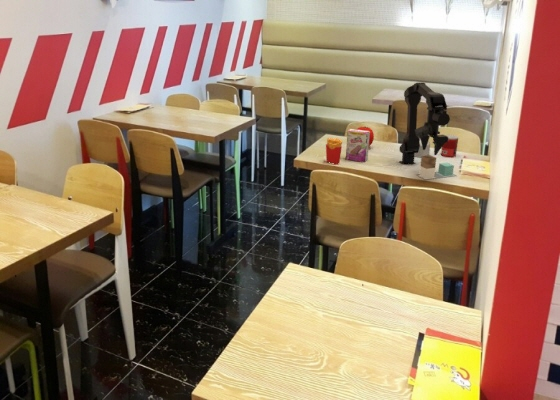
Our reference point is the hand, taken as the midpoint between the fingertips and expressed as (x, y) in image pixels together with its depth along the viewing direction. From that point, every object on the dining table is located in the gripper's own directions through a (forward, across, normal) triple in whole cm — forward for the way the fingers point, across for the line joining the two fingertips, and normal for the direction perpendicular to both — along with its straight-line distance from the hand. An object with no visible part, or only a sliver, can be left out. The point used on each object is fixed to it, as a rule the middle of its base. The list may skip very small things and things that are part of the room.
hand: (429, 152), depth 260 cm
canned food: (+13, -28, +34) cm, 46 cm away
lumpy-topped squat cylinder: (+13, -35, +20) cm, 42 cm away
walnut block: (+7, 0, 0) cm, 7 cm away
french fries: (+13, -37, -33) cm, 51 cm away
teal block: (+12, 0, +11) cm, 17 cm away
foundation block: (+12, 0, 0) cm, 12 cm away
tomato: (+13, -57, -4) cm, 59 cm away
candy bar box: (+13, -37, -19) cm, 44 cm away
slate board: (+13, 0, +6) cm, 14 cm away
